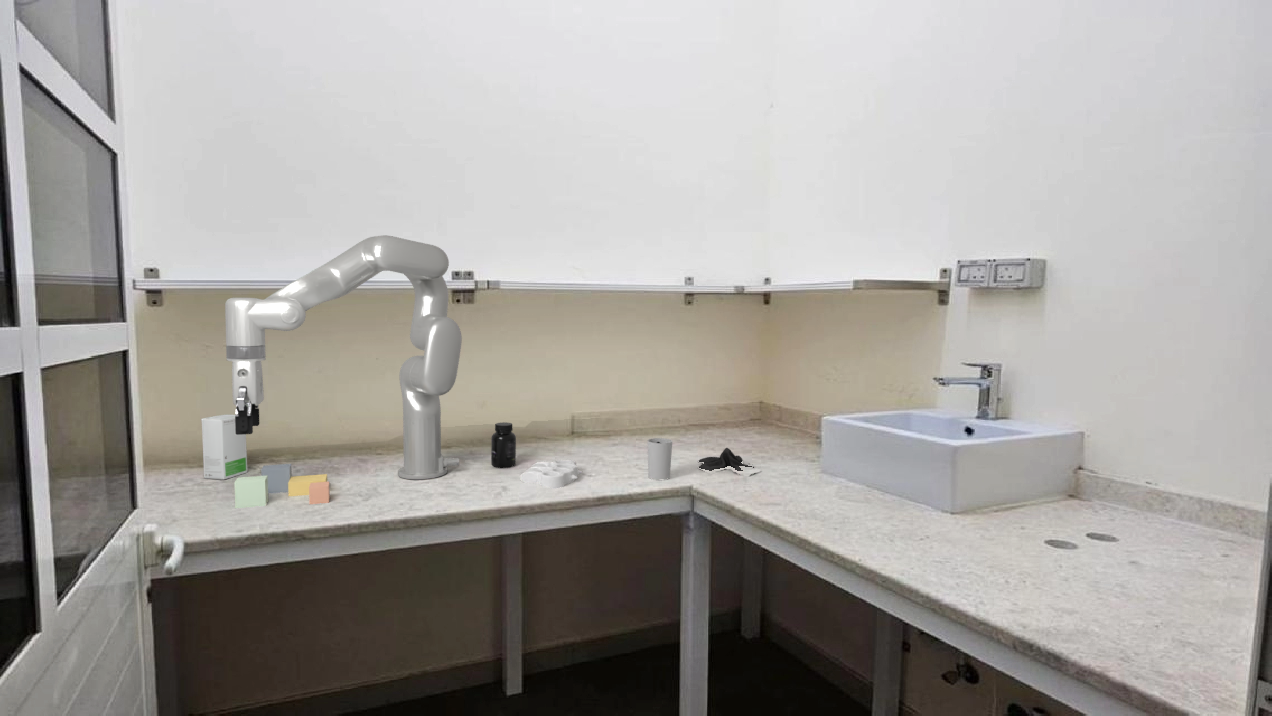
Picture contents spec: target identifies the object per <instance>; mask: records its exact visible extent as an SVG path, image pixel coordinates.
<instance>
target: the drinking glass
mask: <svg viewBox="0 0 1272 716" xmlns="http://www.w3.org/2000/svg"><path fill="white" fill-rule="evenodd" d="M672 450H673V440H672V439H669V438H662V437H654V438H649V439H647V471H648V473H647V474H648V479H650V478H652V479H667V478H669V477H670V478H671V467H672V466H671V465H672ZM670 478H669V479H670ZM652 479H651V480H652ZM667 480H668V479H667Z"/></svg>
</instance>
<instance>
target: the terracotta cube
mask: <svg viewBox="0 0 1272 716" xmlns="http://www.w3.org/2000/svg"><path fill="white" fill-rule="evenodd" d="M330 491H331V490H330V481H327V482H317V483H310V486H309V495H308V497H309V498H308V499H309V500H308V501H309V502H308V503H309V505H317V504H319V505H320V503H321V504H329V503H330V499H331V497H330V496H331V495H330V493H331V492H330Z"/></svg>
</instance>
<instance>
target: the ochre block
mask: <svg viewBox="0 0 1272 716" xmlns="http://www.w3.org/2000/svg"><path fill="white" fill-rule="evenodd" d="M317 482H328V474H327V473H324V474H323V473H322V474H310V475H307V474H306V475H295V476H292V477H291V478H290V480H289V482H288V492H287V493H288V497H289V496H290V497H298V496H299V497H300V496H309V486H310V483H317Z"/></svg>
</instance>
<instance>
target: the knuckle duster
mask: <svg viewBox="0 0 1272 716" xmlns="http://www.w3.org/2000/svg"><path fill="white" fill-rule="evenodd" d="M582 473H583V471H582V470H579V469H578V466H577V461H575V460H573V459H568V458H567V459H557V460H554V461H543V460H542V461H538V462H537V461H536V462H535V463H533V464H532V465H531V466H530V467H528V468H527V469H526V470H525V471H524V472H523V473H521V474H520V477H519V479H520V481H521V482H522V483H525V484H535V485H536V484H538V485H540V486H541V487H542V488H545V487H546V488H545V489H561V488H564V487H565V485H568V484H572V483H574V482H575V480H577V479H579V477H578V475H580V474H582ZM560 487H561V488H560Z"/></svg>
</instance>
